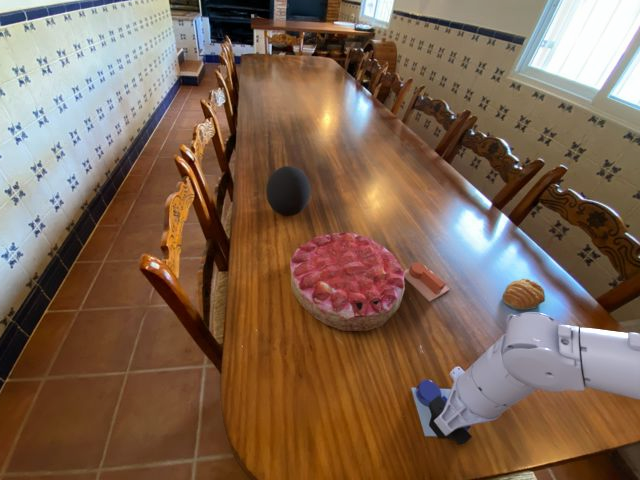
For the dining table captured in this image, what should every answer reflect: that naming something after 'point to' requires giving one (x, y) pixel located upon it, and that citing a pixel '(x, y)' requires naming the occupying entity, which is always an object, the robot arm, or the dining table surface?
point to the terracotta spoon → (426, 277)
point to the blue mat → (427, 412)
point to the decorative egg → (288, 191)
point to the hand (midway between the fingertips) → (451, 416)
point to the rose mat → (423, 287)
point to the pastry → (523, 294)
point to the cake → (347, 281)
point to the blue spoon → (429, 394)
